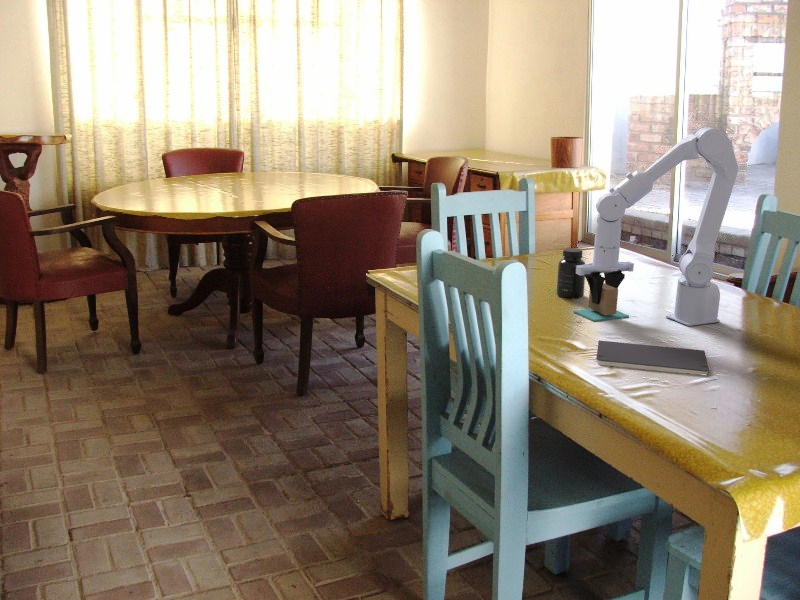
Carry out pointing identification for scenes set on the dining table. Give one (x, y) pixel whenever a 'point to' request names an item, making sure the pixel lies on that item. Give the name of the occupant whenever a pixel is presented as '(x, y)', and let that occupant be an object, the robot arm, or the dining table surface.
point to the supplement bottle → (570, 275)
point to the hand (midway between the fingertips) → (602, 302)
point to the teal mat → (599, 315)
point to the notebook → (652, 357)
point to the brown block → (605, 300)
